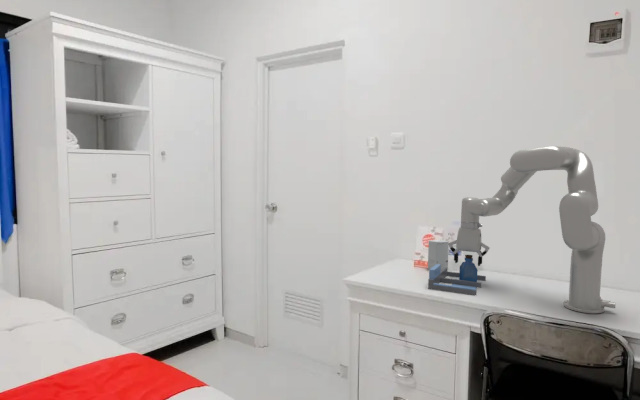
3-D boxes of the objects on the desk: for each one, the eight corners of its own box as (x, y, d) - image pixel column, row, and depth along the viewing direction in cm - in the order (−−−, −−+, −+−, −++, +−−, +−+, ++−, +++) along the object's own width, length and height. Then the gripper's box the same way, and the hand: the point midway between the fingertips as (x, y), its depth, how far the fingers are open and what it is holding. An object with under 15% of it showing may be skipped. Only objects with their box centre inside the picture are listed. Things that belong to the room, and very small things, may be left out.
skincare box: (435, 272, 207) (436, 242, 206) (427, 269, 213) (427, 240, 212) (448, 270, 211) (449, 240, 210) (439, 268, 217) (440, 239, 216)
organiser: (485, 280, 193) (486, 262, 193) (476, 295, 170) (476, 275, 169) (443, 275, 202) (443, 258, 202) (428, 288, 179) (428, 270, 178)
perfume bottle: (473, 280, 193) (474, 254, 192) (476, 284, 187) (478, 257, 186) (459, 280, 194) (460, 253, 193) (462, 283, 188) (463, 256, 187)
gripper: (491, 226, 188) (489, 264, 189) (451, 223, 196) (449, 259, 197) (489, 228, 181) (487, 268, 183) (447, 224, 189) (445, 263, 191)
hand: (467, 263), depth 190 cm, fingers open, 9 cm apart
